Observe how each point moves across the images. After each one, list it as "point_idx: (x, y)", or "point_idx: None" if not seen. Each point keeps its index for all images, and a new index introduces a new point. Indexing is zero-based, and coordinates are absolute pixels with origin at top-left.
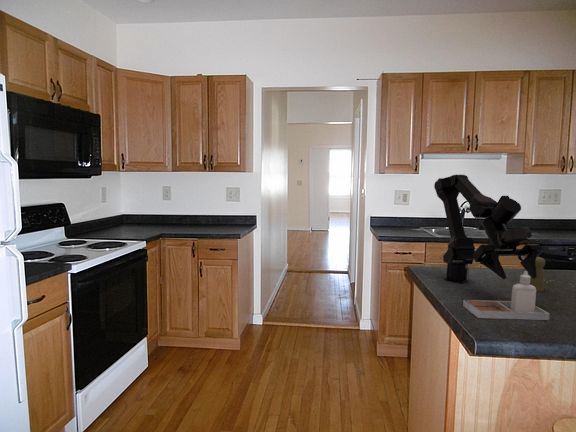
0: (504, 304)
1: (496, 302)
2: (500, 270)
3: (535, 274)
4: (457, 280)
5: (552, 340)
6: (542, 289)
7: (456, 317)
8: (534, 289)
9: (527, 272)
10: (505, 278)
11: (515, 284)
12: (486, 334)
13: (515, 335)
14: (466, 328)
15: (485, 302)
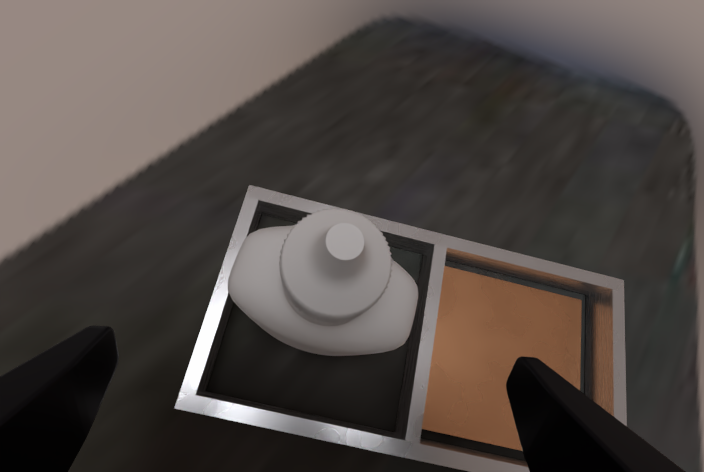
0: (356, 426)
1: (418, 433)
2: (627, 432)
3: (79, 341)
4: None
5: (429, 44)
6: None
7: (692, 314)
8: (275, 227)
9: (329, 229)
10: (515, 365)
11: (394, 328)
12: (637, 134)
13: (536, 104)
14: (690, 195)
15: (485, 456)
